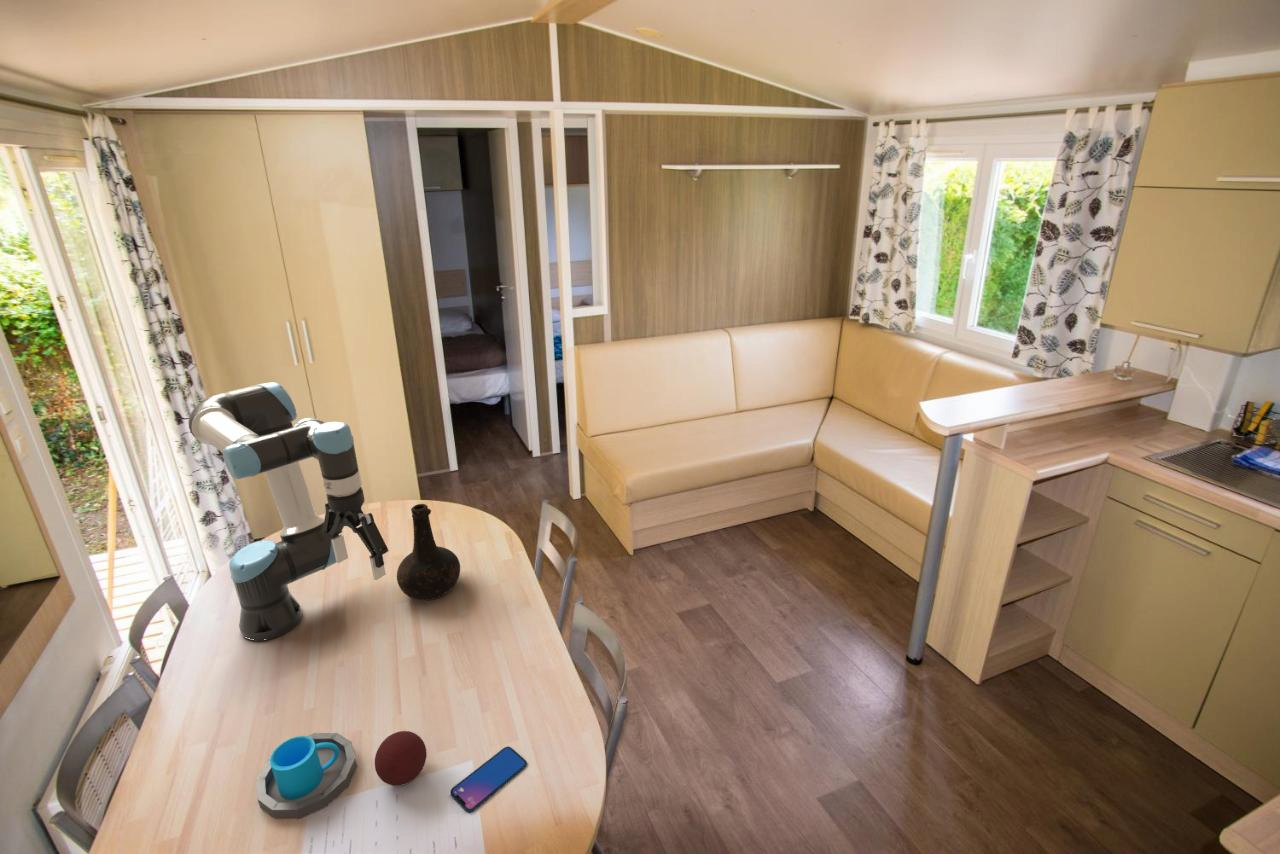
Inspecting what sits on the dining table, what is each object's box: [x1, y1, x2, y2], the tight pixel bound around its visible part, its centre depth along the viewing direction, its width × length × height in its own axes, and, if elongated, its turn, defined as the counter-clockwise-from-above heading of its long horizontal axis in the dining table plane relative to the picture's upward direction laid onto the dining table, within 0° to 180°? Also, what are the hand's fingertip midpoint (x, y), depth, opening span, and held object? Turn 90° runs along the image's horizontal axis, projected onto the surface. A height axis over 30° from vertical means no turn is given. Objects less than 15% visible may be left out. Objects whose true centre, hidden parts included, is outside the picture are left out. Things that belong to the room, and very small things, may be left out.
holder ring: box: [255, 732, 358, 820], centre depth 133 cm, size 18×18×2 cm
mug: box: [269, 735, 339, 800], centre depth 131 cm, size 12×8×8 cm
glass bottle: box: [396, 503, 461, 601], centre depth 186 cm, size 18×18×28 cm
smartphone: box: [450, 746, 528, 814], centre depth 133 cm, size 7×1×15 cm
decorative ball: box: [374, 730, 428, 787], centre depth 132 cm, size 10×10×10 cm
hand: (360, 568), depth 154 cm, fingers open, 13 cm apart
